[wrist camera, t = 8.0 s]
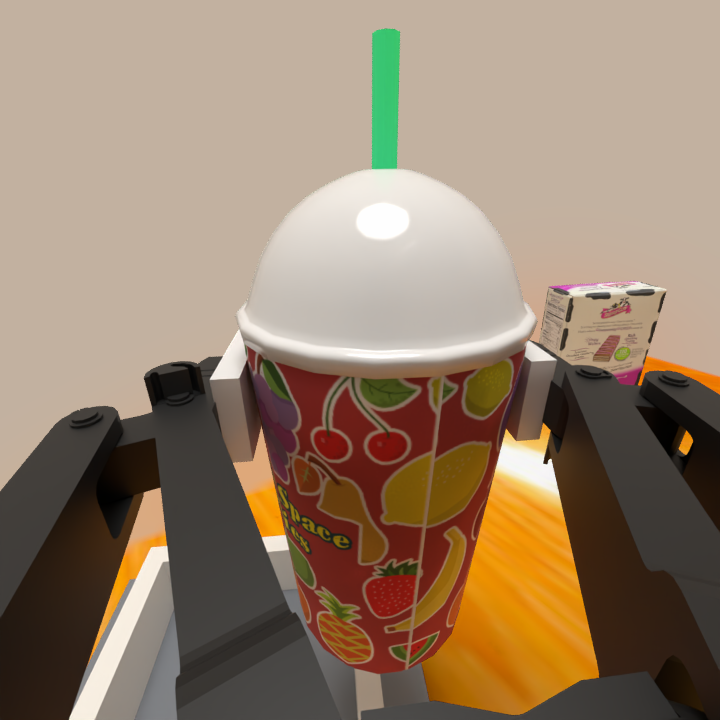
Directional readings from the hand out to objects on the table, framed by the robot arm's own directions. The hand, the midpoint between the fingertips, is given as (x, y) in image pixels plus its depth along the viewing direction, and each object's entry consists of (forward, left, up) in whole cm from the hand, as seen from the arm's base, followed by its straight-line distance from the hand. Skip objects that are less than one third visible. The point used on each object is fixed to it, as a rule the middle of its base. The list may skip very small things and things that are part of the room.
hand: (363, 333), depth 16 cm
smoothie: (0, +5, -11) cm, 12 cm away
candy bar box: (-30, -23, -21) cm, 43 cm away
